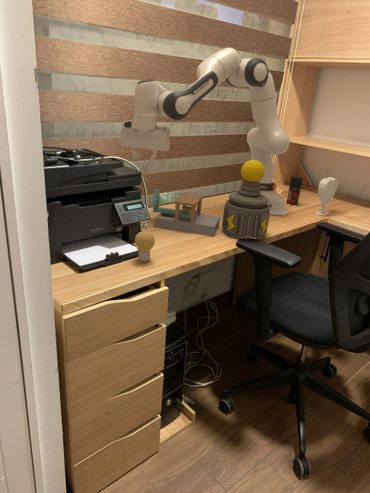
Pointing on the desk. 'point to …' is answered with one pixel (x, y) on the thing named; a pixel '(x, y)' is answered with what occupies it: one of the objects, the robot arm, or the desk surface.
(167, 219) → the tunnel deck
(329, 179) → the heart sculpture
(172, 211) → the sled
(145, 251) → the light bulb
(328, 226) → the desk surface
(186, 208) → the maple block
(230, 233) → the toy power generator
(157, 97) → the robot arm
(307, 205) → the desk surface
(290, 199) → the deodorant
